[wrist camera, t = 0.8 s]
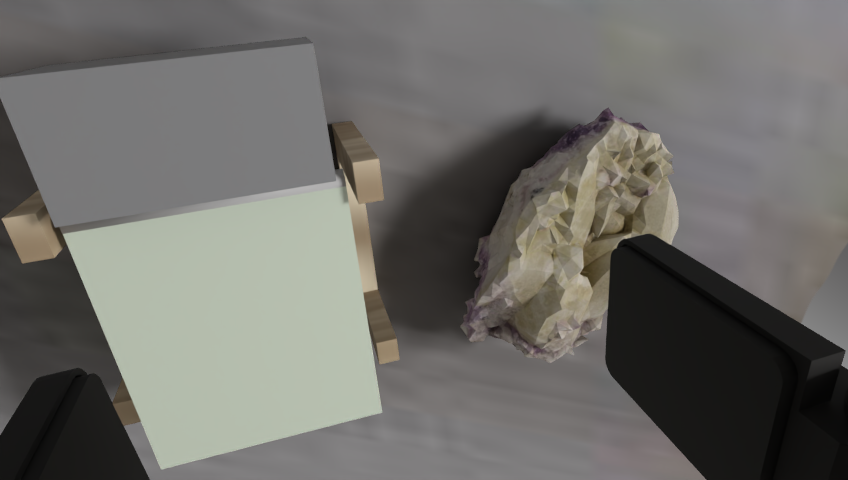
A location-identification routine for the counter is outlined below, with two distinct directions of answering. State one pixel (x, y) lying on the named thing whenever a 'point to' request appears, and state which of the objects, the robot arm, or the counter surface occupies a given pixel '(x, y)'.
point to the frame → (363, 186)
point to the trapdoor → (207, 237)
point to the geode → (569, 236)
